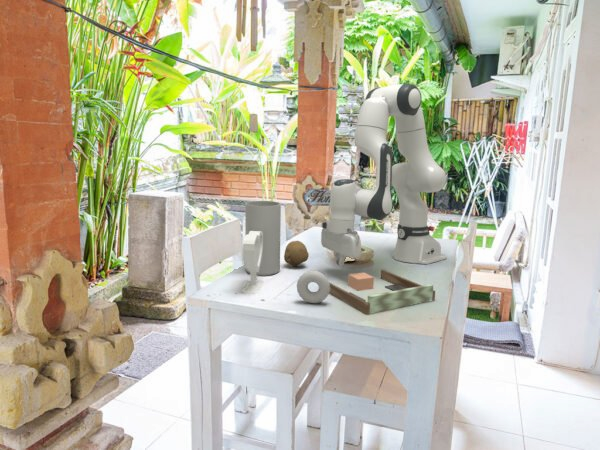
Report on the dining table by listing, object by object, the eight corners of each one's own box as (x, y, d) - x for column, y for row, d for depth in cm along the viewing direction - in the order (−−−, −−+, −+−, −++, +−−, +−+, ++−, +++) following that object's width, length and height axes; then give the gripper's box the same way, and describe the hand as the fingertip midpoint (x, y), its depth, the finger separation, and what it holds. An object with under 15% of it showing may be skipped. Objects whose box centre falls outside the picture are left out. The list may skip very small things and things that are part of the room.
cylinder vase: (281, 275, 164) (282, 206, 159) (246, 276, 161) (246, 206, 157) (277, 265, 176) (278, 200, 171) (244, 266, 174) (244, 201, 169)
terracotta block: (363, 283, 157) (363, 272, 157) (373, 289, 152) (373, 277, 151) (348, 285, 155) (348, 274, 154) (357, 291, 150) (358, 279, 149)
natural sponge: (312, 265, 177) (313, 240, 175) (300, 271, 169) (301, 244, 167) (292, 262, 181) (292, 237, 179) (280, 267, 174) (280, 241, 172)
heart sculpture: (256, 295, 143) (256, 238, 140) (240, 294, 144) (240, 238, 140) (265, 279, 159) (265, 228, 155) (250, 279, 159) (250, 228, 156)
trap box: (382, 277, 163) (383, 264, 162) (434, 300, 142) (435, 284, 141) (320, 288, 151) (320, 273, 150) (366, 314, 130) (367, 297, 129)
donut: (295, 303, 137) (296, 271, 135) (297, 299, 140) (298, 268, 138) (328, 306, 135) (330, 273, 133) (330, 302, 139) (331, 270, 137)
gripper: (366, 231, 153) (364, 271, 155) (333, 221, 170) (331, 257, 173) (351, 232, 150) (349, 273, 152) (318, 222, 167) (317, 258, 170)
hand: (339, 264), depth 163 cm, fingers closed
